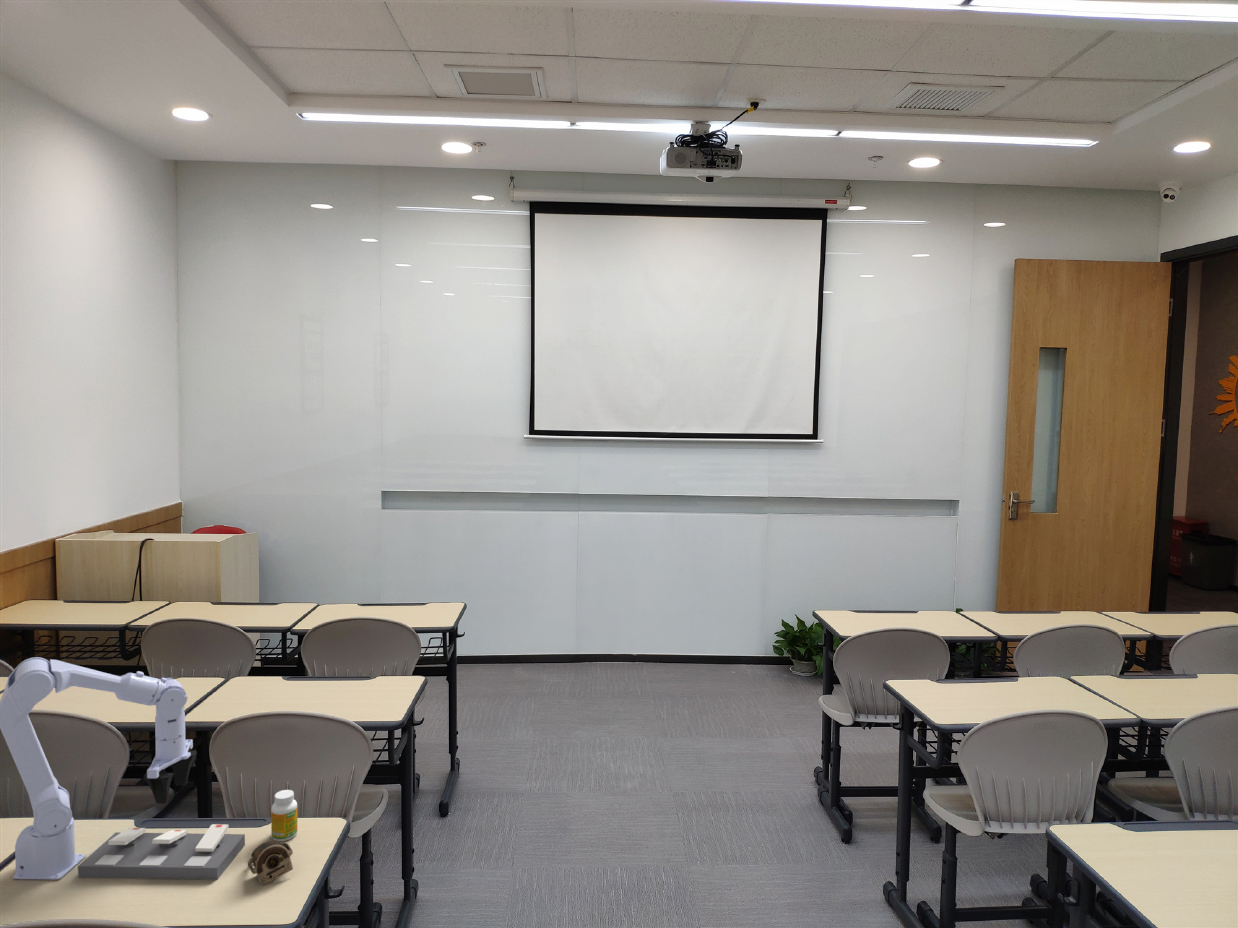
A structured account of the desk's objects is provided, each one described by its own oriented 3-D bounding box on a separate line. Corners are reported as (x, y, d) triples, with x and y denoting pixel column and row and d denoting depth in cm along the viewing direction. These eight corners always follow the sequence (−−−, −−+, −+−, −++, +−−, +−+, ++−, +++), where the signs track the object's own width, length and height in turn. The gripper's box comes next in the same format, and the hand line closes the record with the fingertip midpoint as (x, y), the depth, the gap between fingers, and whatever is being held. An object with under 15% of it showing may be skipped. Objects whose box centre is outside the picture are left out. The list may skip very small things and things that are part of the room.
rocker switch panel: (78, 877, 154) (77, 863, 153) (115, 843, 165) (115, 829, 165) (217, 879, 154) (217, 864, 154) (244, 844, 166) (244, 831, 166)
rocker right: (195, 852, 159) (195, 847, 158) (212, 828, 165) (211, 823, 165) (213, 852, 159) (212, 847, 158) (229, 828, 165) (228, 824, 165)
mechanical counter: (232, 866, 150) (285, 850, 152) (246, 825, 162) (295, 811, 165) (242, 896, 152) (294, 880, 154) (255, 853, 164) (303, 839, 166)
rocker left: (108, 846, 158) (108, 840, 158) (128, 833, 165) (129, 827, 165) (125, 846, 158) (126, 840, 158) (145, 833, 165) (145, 827, 165)
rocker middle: (151, 845, 158) (152, 838, 158) (170, 835, 165) (170, 829, 165) (169, 845, 158) (169, 839, 158) (186, 835, 165) (187, 829, 165)
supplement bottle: (287, 843, 167) (287, 801, 166) (266, 840, 168) (265, 798, 168) (302, 830, 173) (302, 789, 172) (281, 826, 174) (281, 786, 173)
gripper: (170, 750, 161) (171, 811, 162) (205, 721, 175) (206, 777, 176) (136, 749, 161) (138, 810, 162) (174, 720, 175) (175, 776, 176)
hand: (171, 793), depth 169 cm, fingers open, 7 cm apart
